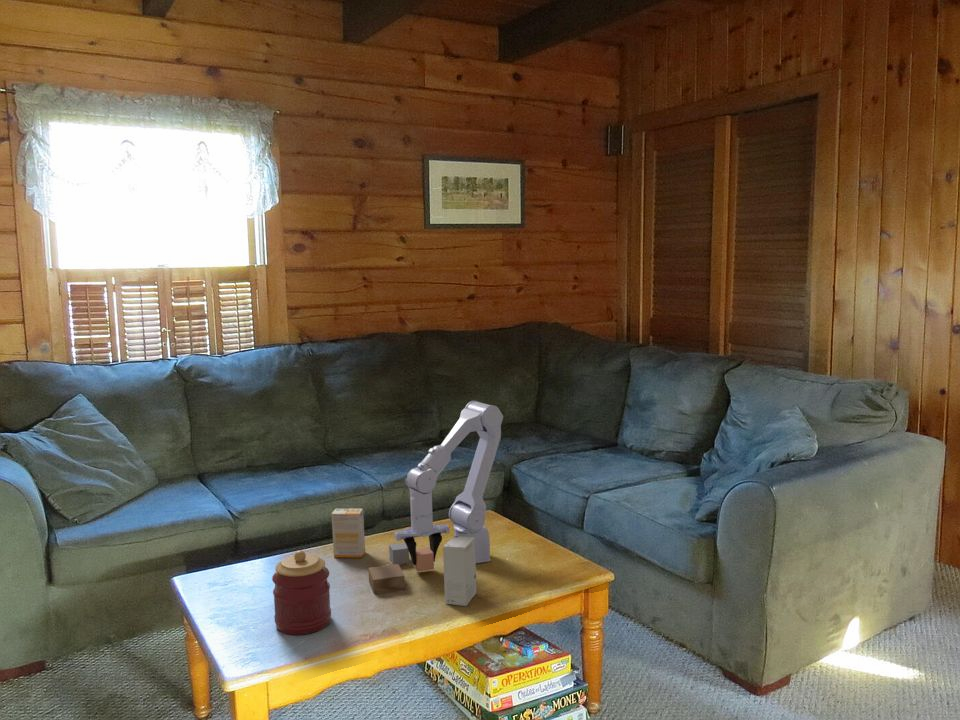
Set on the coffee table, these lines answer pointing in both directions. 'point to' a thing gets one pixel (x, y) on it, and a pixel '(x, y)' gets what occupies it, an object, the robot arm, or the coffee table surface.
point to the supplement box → (348, 533)
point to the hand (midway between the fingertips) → (423, 562)
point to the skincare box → (459, 570)
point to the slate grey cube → (399, 553)
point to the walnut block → (386, 578)
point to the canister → (301, 594)
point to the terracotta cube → (424, 559)
